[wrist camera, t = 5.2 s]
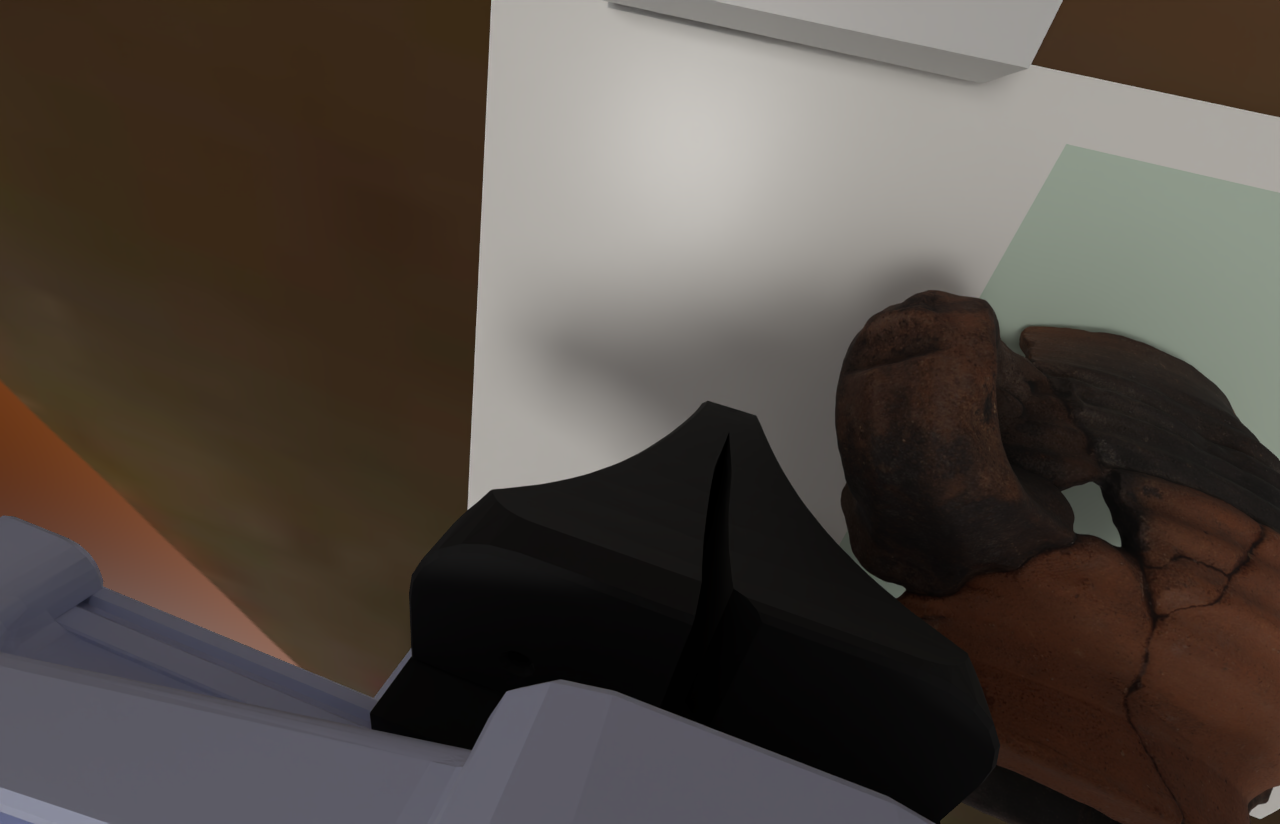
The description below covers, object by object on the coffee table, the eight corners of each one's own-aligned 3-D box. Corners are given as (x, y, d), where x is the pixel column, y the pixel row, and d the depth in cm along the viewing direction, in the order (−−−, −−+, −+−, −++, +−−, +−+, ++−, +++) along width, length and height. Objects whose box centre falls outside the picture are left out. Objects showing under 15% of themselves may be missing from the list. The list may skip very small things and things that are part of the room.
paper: (1252, 807, 15) (1260, 818, 15) (471, 525, 18) (466, 531, 18) (2150, 307, 7) (2200, 314, 7) (500, -45, 10) (493, -50, 10)
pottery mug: (1306, 530, 12) (1409, 1009, 8) (887, 512, 19) (831, 755, 15) (1262, 14, 6) (1534, 734, 2) (698, 265, 13) (532, 544, 10)
